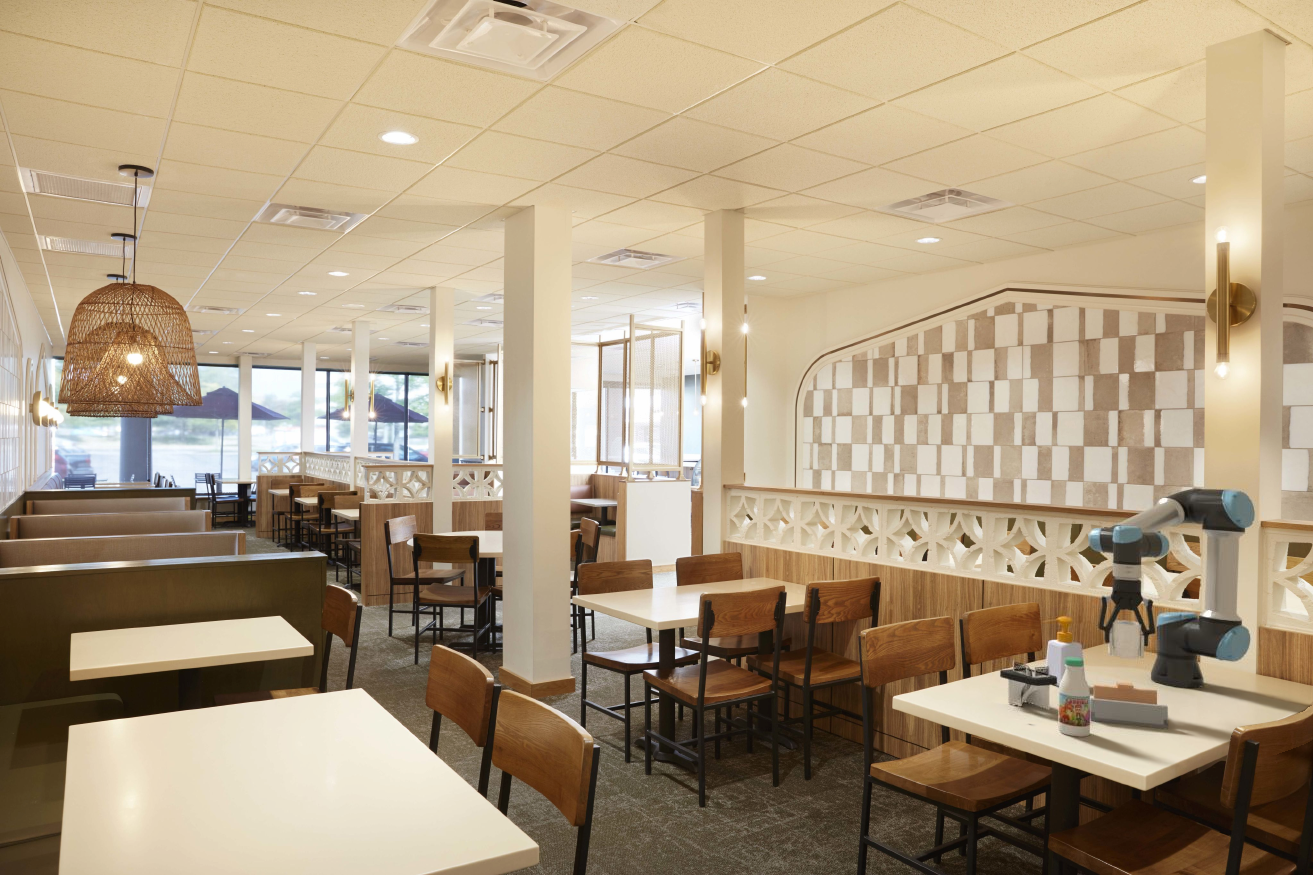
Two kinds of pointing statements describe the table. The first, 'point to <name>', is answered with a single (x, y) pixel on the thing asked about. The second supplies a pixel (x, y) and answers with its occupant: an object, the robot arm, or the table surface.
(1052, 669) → the soap bottle
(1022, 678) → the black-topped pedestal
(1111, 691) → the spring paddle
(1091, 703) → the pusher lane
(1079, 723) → the milk bottle
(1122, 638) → the white cup
